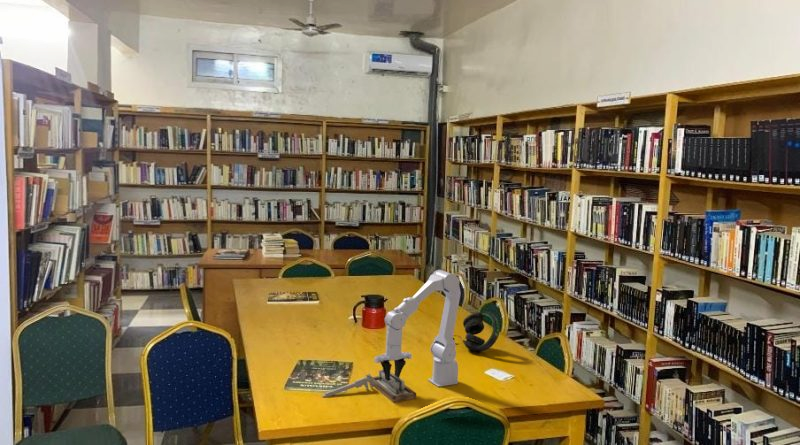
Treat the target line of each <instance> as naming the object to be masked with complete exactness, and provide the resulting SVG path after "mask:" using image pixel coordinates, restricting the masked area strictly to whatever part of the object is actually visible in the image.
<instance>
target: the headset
mask: <svg viewBox="0 0 800 445" xmlns="http://www.w3.org/2000/svg"><path fill="white" fill-rule="evenodd" d="M485 317H489V318H490V319H491V321H492V332H491V334H490V337H489V338H488V339H487V340H486V341H485V339H484V338H482V337H480V336H476V335H479V334H480V333H482V332H484V329H485V324H484V322H483V318H485ZM500 324H501V323H500V320H499V318H498V317H497V316H496V315H495V314H493V313H491V312H490V311H486V310H485V311H478V312H476V313H471V314H469V315H467V316H466V317H465V318H463V322H462V326H463V328H464V331H465V333H466V335H465V338H464V339H465V340H464V339H462V337H461V336H460V335H454V334H453V340H454V341H455V337H458V338H460V339H461V341H462V344H464V346H465V348H467V349H468V350H470V351H472V350H473V351H472V352H479V351H480V352H485V351H487V350H489V349H490V348H492V347H493V346H494V345H495V344H496V342H497V340H498V339H499V335H500V331H501V325H500Z"/></svg>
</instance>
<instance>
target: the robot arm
mask: <svg viewBox="0 0 800 445" xmlns="http://www.w3.org/2000/svg"><path fill="white" fill-rule="evenodd" d="M460 281H461V280H460V278H458V276H457V275H456V274H455V273H450V272H449V271H445V270H443V269H437V270H435V271H434V272H433V273H432V274H431V275H430V276H429V278H428V279H427V280H426V282H425V283H424V284H423V285H422V286H421V287H420V288H419V290H418V291H417V292H416V293H415V294H414V295H413V296H412V297H411V296H408V297H405V298H403V300H402V302H401V303H400V304H399V305H398V306H396V307H394V309H393V310H389V311H388V312H387V313H386V315H385V317H384V319H383V320H384V323H385V324H386V338H385V339H386V341H385V353H383V354H381V355H377V356H374V363H376V364H380V365H381V367H382V369H383V370H384V374H385V379H386V380H387V381H389V379H390V372H391V370H392V369H391V368H392V363H391V361H393V362H394V375H396V376H397V377H399V378H400V377H401V373H402V371H403V368H404V367H405V365H406V363H407V362H406V360H405V359H407V360H411V359H412V353H411V352H402V340H403V338H402V337H403V328H404V327H405V325H406V323H407V320H408V319H409V318H410V317H411V316H412V315H413V314H414V313H415V312H416V311H417V310H418V309H419V305H420V303H421V302H423V301H424V300H425V299H426V298H427V297H429V296H430V295H432V293H434V292H435V291H436V292H437V291H442V293H444V295H445V298H444V305H443V308H442V316H441V321H440V326H439V331H438V334H437V335H436V336H435V337H434V339H433V342H432V344H431V345H430V352H431V354H432V358H433V362H432V365H433V366H432V377H431V378H428V381H429V382H430V383H432V384H433V385H435V386H437V387H438V388H440V387H446V386H451V385H452V386H453V385H458V384H459V381H458V378H459V365H458V362H457V360H456V357H457V356H456V355H457V351H456V350H457V349H456V346H457V345H456V341H455V340H453V338H454V332H455V326H456V323H457V322H456V321H457V315H458V310H459V304H460V300H461V288H460Z"/></svg>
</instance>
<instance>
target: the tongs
mask: <svg viewBox="0 0 800 445" xmlns="http://www.w3.org/2000/svg"><path fill="white" fill-rule="evenodd" d="M378 376H379V381H380V382H381V383H382V384H384V385H385V386H387V387H388V388H389V389H391V390H392V391H394V392H395V393H399V391H400V392H404V385H406V384H405V380H404V379H402V378H401V377H400V376H399V377H397V376H396V375H395V373H393V372H391V371H390V379H389V381H387V380H386V379H385V374H384V370H383V368H382V369H380V370H378Z"/></svg>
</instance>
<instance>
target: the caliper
mask: <svg viewBox="0 0 800 445" xmlns="http://www.w3.org/2000/svg"><path fill="white" fill-rule="evenodd" d="M365 376H366V377H362V378H359V379H356V380H354V382H351V383H348V384H346V385H343V386H340V387H337V388H334V389H332V390H329V391H327V392H324V394H323V395H321V397H322V398H326V397H327V398H328V397H331V396H335V395H337V394H340V393H343V392H346V391H348V390H350V389H353V388H356V389H359V388H361V387H363V386H364V387H365V389H366V390H367V391H368V390H369V386H370V390H371V389H372V390H373V387H374V386H373V378H372V377H373V376H372V375H371V373H370V372H368V374H367V373H366V374H365Z"/></svg>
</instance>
